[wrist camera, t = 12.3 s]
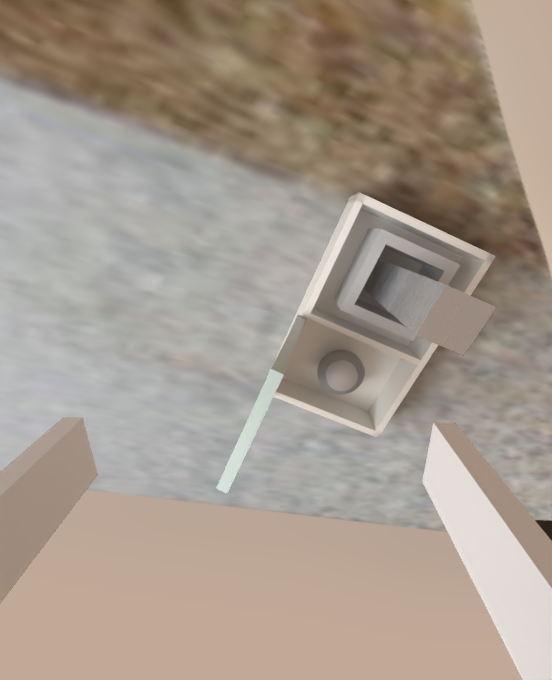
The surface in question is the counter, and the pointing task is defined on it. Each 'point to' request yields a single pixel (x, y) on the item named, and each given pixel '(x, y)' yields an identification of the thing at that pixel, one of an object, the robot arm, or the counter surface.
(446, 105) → the counter surface
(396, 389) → the housing
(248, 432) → the lid
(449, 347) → the rectangular gray bar
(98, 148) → the counter surface
